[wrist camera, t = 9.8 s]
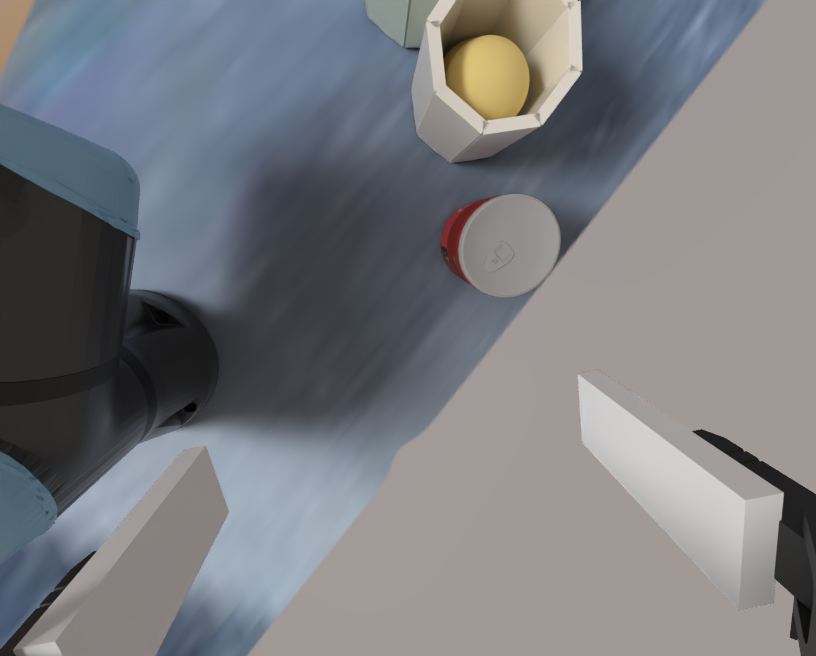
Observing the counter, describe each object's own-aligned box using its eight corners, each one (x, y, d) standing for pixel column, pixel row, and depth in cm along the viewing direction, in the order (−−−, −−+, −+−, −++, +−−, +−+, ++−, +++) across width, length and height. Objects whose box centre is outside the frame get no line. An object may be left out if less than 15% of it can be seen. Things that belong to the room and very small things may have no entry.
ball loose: (445, 94, 33) (446, 153, 31) (441, 19, 27) (442, 86, 25) (520, 86, 32) (526, 146, 30) (531, 7, 27) (539, 75, 25)
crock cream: (420, 168, 38) (439, 141, 26) (406, 55, 36) (419, -35, 23) (518, 153, 39) (583, 119, 26) (510, 40, 36) (578, -57, 24)
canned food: (425, 258, 41) (441, 270, 30) (464, 185, 39) (495, 171, 29) (489, 292, 42) (525, 316, 31) (529, 223, 41) (581, 223, 30)
